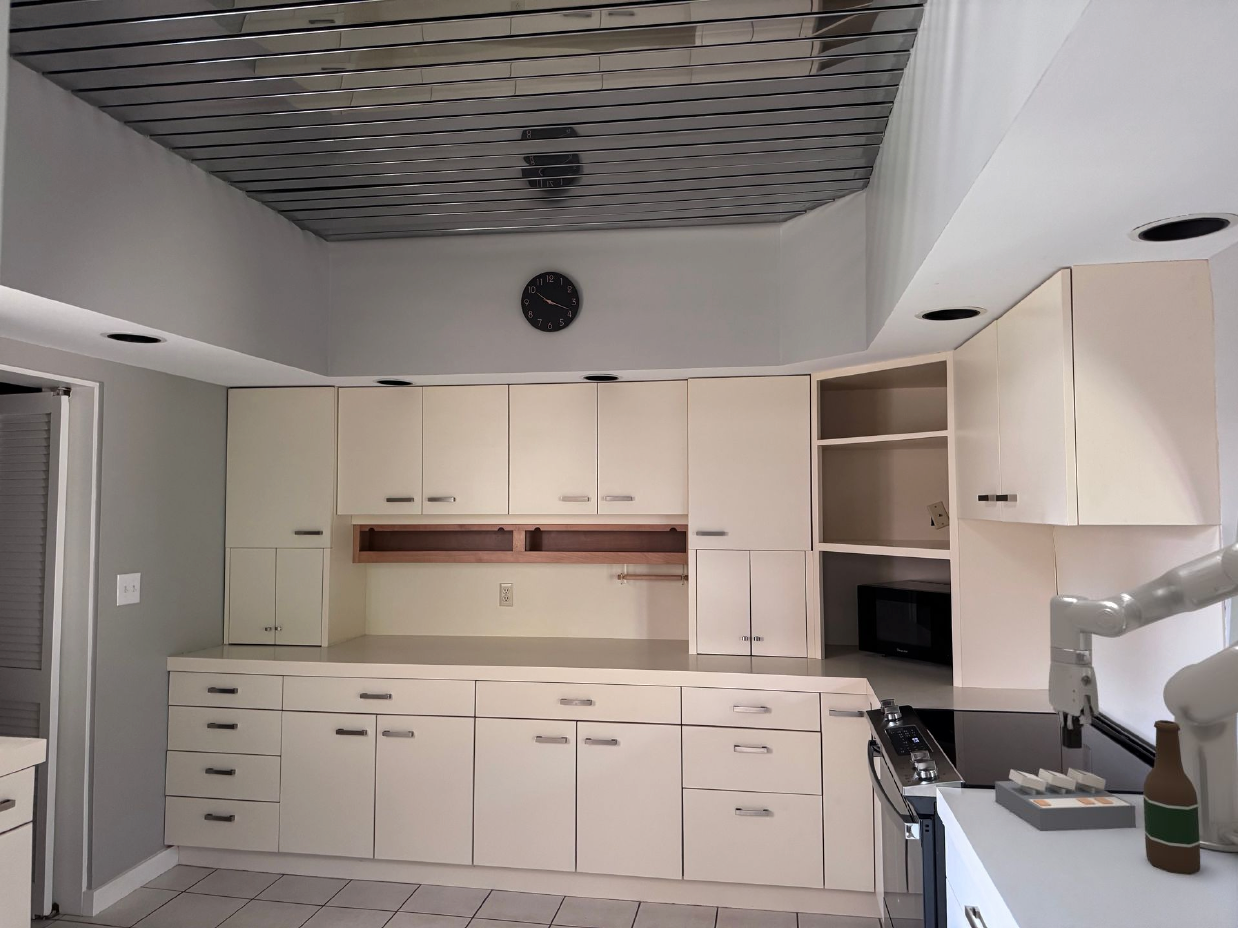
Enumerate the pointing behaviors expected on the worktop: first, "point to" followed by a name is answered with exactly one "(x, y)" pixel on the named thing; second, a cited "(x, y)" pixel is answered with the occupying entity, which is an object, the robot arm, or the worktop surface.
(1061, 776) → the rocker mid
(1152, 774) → the beer bottle
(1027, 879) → the worktop surface
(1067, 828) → the switch unit
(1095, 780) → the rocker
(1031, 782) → the rocker
